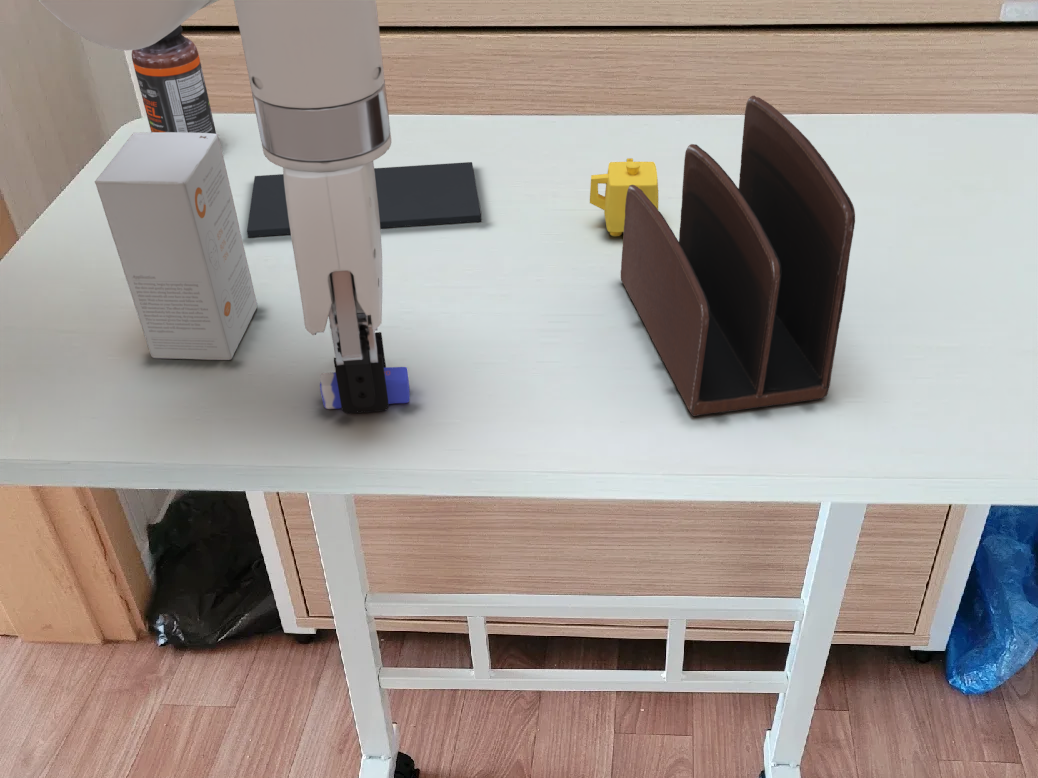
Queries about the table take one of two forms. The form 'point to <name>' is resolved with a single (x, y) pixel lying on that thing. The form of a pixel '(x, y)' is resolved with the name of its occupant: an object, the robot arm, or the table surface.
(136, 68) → the supplement bottle
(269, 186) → the mat
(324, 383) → the eraser
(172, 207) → the small box
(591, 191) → the teapot
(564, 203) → the table surface
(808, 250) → the letter holder
